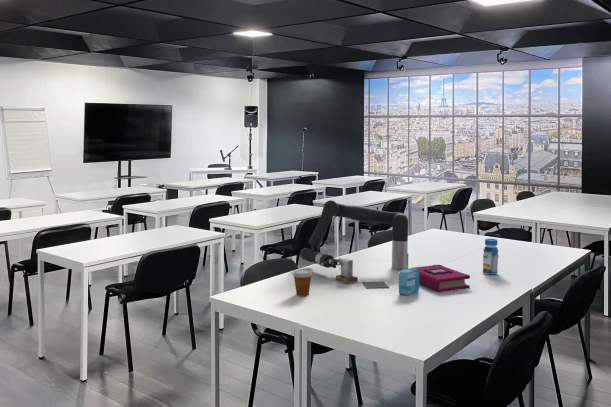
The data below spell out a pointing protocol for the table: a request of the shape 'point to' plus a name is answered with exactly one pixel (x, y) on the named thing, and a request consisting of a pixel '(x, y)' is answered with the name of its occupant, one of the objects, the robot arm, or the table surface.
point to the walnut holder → (345, 280)
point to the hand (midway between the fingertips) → (341, 265)
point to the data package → (408, 281)
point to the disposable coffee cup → (302, 281)
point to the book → (442, 278)
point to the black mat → (375, 284)
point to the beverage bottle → (490, 257)
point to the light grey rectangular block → (346, 268)
